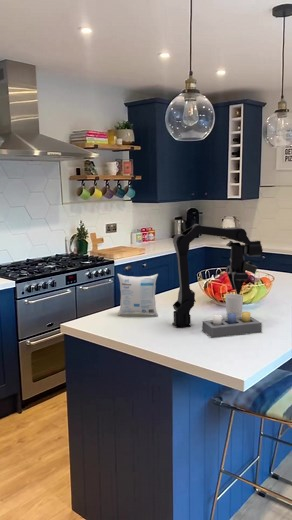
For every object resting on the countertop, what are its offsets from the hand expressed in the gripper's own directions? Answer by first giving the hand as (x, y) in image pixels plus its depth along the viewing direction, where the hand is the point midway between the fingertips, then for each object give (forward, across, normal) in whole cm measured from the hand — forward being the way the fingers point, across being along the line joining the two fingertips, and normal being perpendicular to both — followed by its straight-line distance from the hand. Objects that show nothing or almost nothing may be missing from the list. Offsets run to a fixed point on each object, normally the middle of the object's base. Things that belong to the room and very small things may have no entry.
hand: (236, 291), depth 199 cm
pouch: (+15, +13, +43) cm, 47 cm away
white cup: (+14, +7, -1) cm, 16 cm away
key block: (+14, -13, +4) cm, 19 cm away
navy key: (+11, -13, +4) cm, 17 cm away
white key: (+11, -15, +10) cm, 21 cm away
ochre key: (+10, -11, -2) cm, 15 cm away
